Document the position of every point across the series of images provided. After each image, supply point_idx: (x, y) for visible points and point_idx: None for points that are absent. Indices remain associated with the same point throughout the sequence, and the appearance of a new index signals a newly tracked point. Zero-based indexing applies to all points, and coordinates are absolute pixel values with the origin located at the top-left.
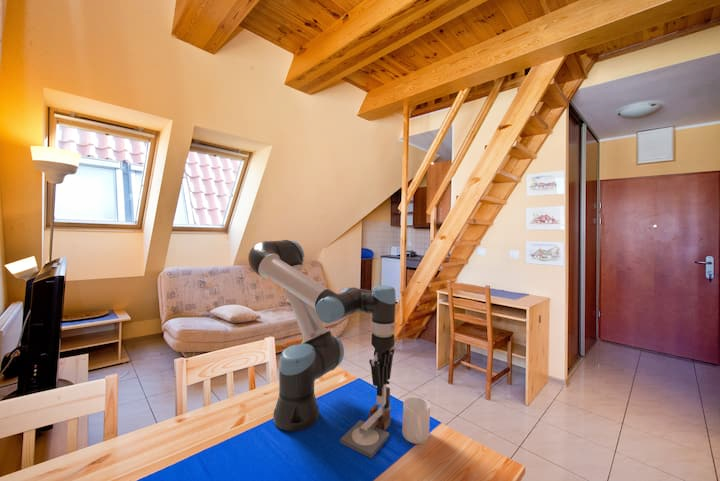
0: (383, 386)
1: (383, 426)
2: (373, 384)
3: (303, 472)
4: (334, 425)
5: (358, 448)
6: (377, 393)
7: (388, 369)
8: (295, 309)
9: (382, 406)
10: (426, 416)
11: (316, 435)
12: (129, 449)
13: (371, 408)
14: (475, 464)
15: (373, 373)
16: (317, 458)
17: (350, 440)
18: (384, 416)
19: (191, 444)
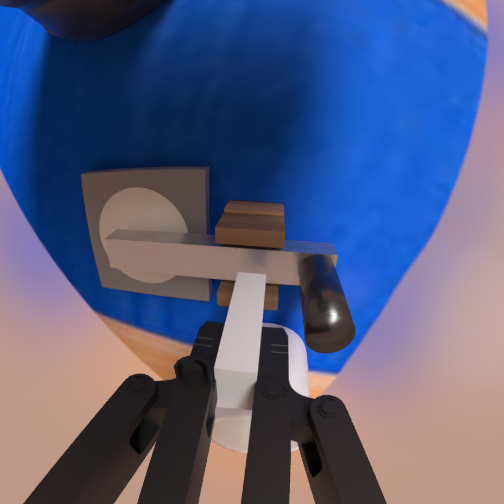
0: (216, 403)
1: None
2: (126, 383)
3: (4, 171)
4: (141, 89)
5: (93, 244)
6: (197, 336)
7: (318, 496)
8: None
9: (301, 259)
10: (241, 436)
11: (74, 86)
12: None
13: (231, 230)
14: None
15: (63, 473)
16: (30, 164)
17: (95, 206)
18: (218, 302)
19: None
